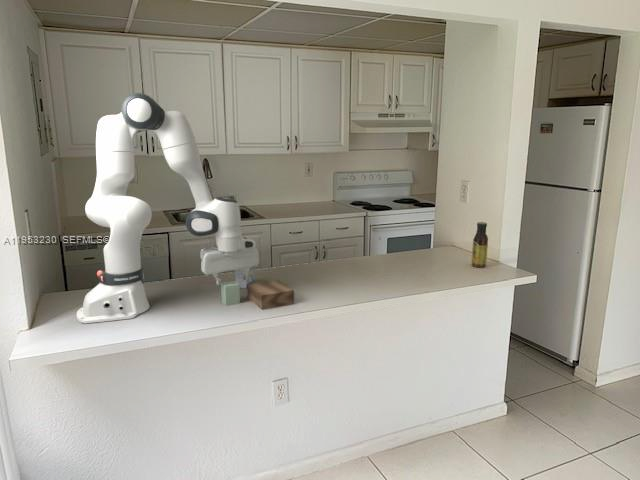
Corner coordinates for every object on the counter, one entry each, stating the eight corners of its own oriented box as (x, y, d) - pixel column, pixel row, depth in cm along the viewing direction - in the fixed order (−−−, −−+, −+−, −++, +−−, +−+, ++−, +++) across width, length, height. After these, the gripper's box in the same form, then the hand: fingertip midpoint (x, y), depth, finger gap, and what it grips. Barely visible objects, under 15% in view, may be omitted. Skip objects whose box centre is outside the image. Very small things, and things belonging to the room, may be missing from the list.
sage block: (226, 305, 165) (225, 286, 163) (221, 301, 169) (220, 282, 167) (239, 303, 167) (239, 284, 165) (235, 299, 171) (234, 280, 170)
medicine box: (246, 288, 183) (245, 267, 181) (235, 287, 183) (234, 266, 181) (253, 282, 190) (252, 261, 188) (243, 281, 191) (242, 261, 189)
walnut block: (261, 309, 161) (261, 295, 160) (247, 297, 173) (247, 284, 172) (293, 303, 167) (293, 290, 165) (277, 292, 178) (277, 279, 177)
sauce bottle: (471, 263, 216) (474, 220, 212) (485, 264, 215) (489, 221, 210) (471, 267, 210) (474, 223, 206) (486, 268, 209) (489, 224, 204)
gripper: (202, 250, 156) (205, 290, 159) (260, 241, 166) (262, 278, 169) (196, 246, 161) (200, 284, 165) (253, 237, 171) (255, 274, 174)
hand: (232, 281), depth 167 cm, fingers open, 8 cm apart
